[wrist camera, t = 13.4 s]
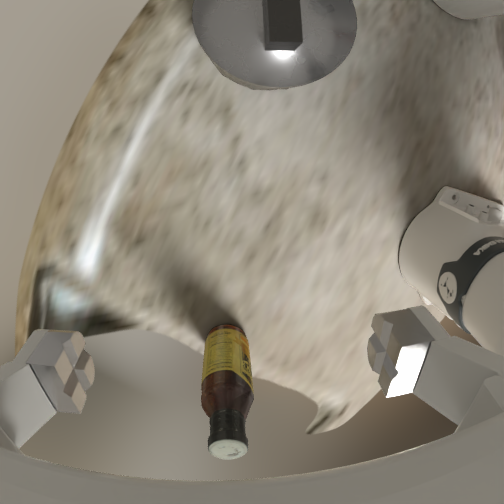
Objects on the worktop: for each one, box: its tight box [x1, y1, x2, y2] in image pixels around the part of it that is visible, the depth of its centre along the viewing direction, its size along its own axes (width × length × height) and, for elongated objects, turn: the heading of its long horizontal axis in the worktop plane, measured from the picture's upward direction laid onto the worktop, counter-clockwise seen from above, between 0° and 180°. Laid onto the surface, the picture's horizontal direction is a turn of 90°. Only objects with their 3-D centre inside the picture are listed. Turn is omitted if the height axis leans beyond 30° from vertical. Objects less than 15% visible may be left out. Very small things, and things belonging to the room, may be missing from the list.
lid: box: [192, 0, 357, 88], centre depth 22 cm, size 15×15×6 cm
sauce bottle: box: [201, 325, 254, 459], centre depth 37 cm, size 6×6×20 cm
